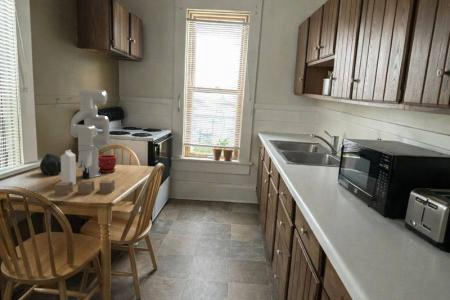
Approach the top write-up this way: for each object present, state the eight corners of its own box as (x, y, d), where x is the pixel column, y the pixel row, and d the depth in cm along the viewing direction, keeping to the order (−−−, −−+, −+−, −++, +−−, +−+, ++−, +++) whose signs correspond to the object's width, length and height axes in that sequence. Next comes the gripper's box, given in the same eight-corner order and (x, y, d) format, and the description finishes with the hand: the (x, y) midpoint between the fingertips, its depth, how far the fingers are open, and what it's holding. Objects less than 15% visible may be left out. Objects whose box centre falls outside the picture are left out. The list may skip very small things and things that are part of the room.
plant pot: (119, 170, 233) (119, 155, 231) (109, 174, 220) (109, 158, 218) (104, 168, 236) (104, 153, 234) (93, 172, 223) (93, 156, 221)
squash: (72, 165, 219) (58, 148, 218) (58, 170, 204) (43, 153, 203) (58, 176, 222) (45, 160, 220) (44, 182, 207) (30, 165, 206)
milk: (61, 185, 187) (60, 150, 184) (67, 183, 193) (66, 149, 190) (70, 186, 187) (69, 151, 183) (76, 183, 193) (75, 149, 189)
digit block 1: (60, 191, 177) (60, 181, 176) (72, 191, 178) (72, 181, 177) (55, 195, 170) (54, 184, 169) (68, 195, 171) (67, 184, 170)
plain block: (82, 190, 181) (82, 180, 180) (94, 190, 182) (94, 180, 181) (77, 193, 175) (77, 183, 174) (90, 194, 175) (90, 184, 174)
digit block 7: (102, 188, 186) (102, 179, 185) (114, 189, 187) (114, 179, 186) (99, 192, 179) (99, 182, 178) (111, 192, 180) (111, 182, 179)
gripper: (83, 145, 181) (83, 175, 184) (73, 149, 166) (74, 182, 169) (96, 146, 182) (96, 176, 184) (87, 150, 167) (88, 182, 170)
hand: (86, 178), depth 177 cm, fingers closed
